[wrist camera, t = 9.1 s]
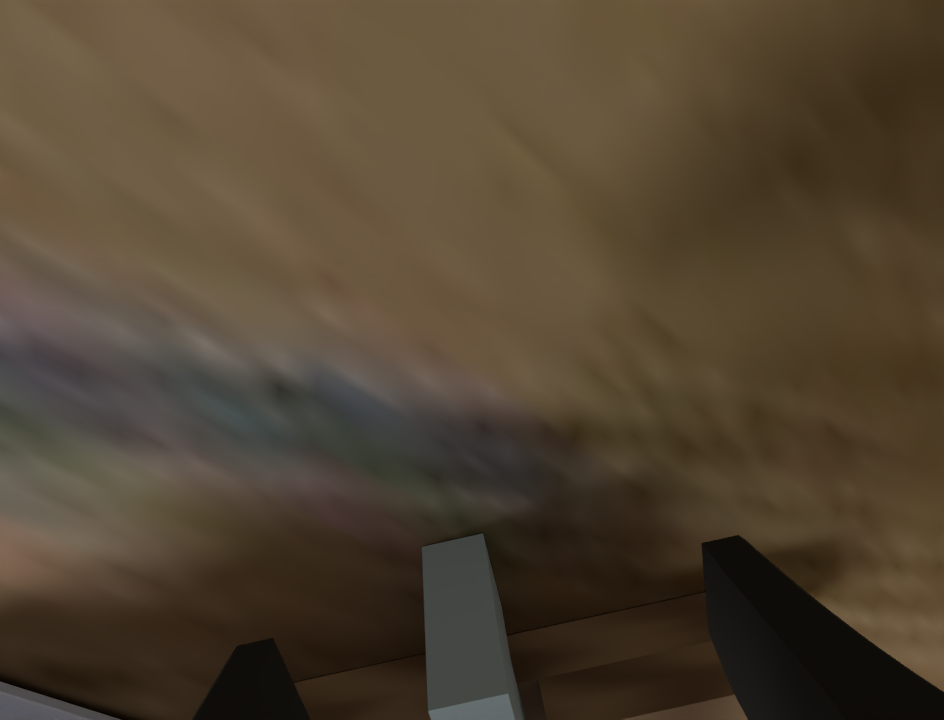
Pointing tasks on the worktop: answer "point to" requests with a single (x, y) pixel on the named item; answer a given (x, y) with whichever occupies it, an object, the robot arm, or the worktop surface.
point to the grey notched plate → (466, 635)
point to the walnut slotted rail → (567, 673)
